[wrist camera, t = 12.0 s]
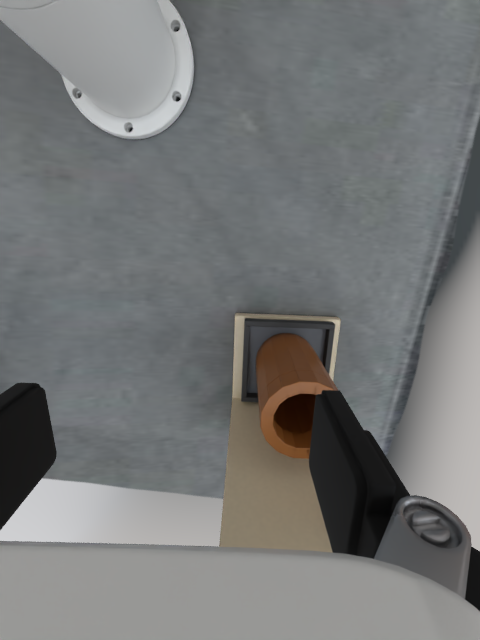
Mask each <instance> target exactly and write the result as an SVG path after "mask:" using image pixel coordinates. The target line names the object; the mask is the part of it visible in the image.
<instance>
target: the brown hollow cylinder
mask: <svg viewBox="0 0 480 640" xmlns="http://www.w3.org/2000/svg"><path fill="white" fill-rule="evenodd" d="M256 376H257V390H258V404H259V417H260V428H261V430H262V433H263V435H264V438H265V440H266V441H267V442H268V443H269V444H270V445H271V446H272V447H273V448H274V449H275V450H276V451H277V452H279V453H281V454H284V455H286V456H289V457H291V458H301V459H309V453H310V444H311V435H312V425H313V416H314V407H315V398H316V395H317V394H321V392H322V391H323V390H338V389H337V387H336V386H335V384H334V382H333V381H332V379H331V377H330V376H329V374H328V372H327V371H326V369H325V367H324V366H323V364H322V362H321V361H320V359H319V357H318V356H317V354H316V352H315V351H314V349H313V348H312V347H311V345H310V344H309V343H308V342H307V341H306V340H305V339H304V338H302V337H300V336H298V335H296V334H292V333H281V334H277V335H274V336H272V337H270V338H268V339H267V340H266V341H265V342H264V343H263V344H262V345H261V346H260V348H259V350H258V352H257V356H256Z"/></svg>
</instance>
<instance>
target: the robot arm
mask: <svg viewBox="0 0 480 640" xmlns="http://www.w3.org/2000/svg"><path fill="white" fill-rule="evenodd" d="M0 20H1V21H2V22H3V23H4V24H5V25H6V26H7V27H9V28H10V29H11V30H12V31H13V32H14V33H15V34H17V35H18V36H19V37H20V38H21V39H22V40H23V41H24V42H26V43H27V44H28V45H29V46H30V47H31V48H32V49H33V50H35V51H36V52H37V53H38V54H39V55H40V56H41V57H43V58H44V59H45V60H46V61H47V62H48V63H49V64H50V65H52V66H53V67H54V68H55V69H56V70H57V71H58V72H60V73H61V76H62V79H63V81H64V84H65V87H66V89H67V91H68V93H69V95H70V97H71V99H72V101H73V102H74V104H75V105H76V106H77V108H78V109H79V110H80V112H81V113H82V114H83V115H84V116H85V117H86V118H87V119H89V120H90V121H91V122H92V123H93V124H94V125H96V126H97V127H99V128H100V129H102V130H103V131H105V132H107V133H109V134H111V135H114V136H117V137H120V138H123V139H135V140H136V139H144V138H148V137H151V136H154V135H157V134H159V133H160V132H162V131H164V130H165V129H167V128H168V127H169V126H170V125H171V124H172V123H173V122H174V121H175V120H176V119H177V118H178V117H179V115H180V114H181V112H182V111H183V109H184V108H185V106H186V103H187V101H188V99H189V96H190V93H191V89H192V85H193V77H194V59H193V51H192V47H191V43H190V39H189V36H188V33H187V30H186V27H185V24H184V22H183V20H182V19H181V17H180V15H179V13H178V11H177V10H176V8H175V7H174V6H173V4H172V3H171V2H170V1H169V0H0ZM176 30H179V31H177V32H175V31H176ZM80 95H81V97H80ZM177 98H180V99H181V100H180V101H178V102H176V99H177ZM131 128H133V130H132V132H130V129H131ZM55 459H56V447H55V442H54V437H53V431H52V426H51V421H50V416H49V410H48V405H47V400H46V394H45V390H44V389H43V388H41V387H40V385H39V384H37V383H17V384H15V385H14V386H12V387H11V388H9V389H8V390H6V391H5V392H4V393H2V394H1V395H0V530H1V529H2V527H3V526H4V525H5V524H6V522H7V521H8V520H9V519H10V517H11V516H12V515H13V514H14V512H15V511H16V510H17V509H18V507H19V506H20V504H21V503H22V502H23V501H24V500H25V498H26V497H27V496H28V495H29V493H30V492H31V491H32V490H33V488H34V487H35V486H36V485H37V484H38V482H39V481H40V480H41V479H42V477H43V476H44V475H45V474H46V472H47V471H48V470H49V469H50V467H51V466H52V465H53V463H54V461H55ZM309 468H310V473H311V476H312V480H313V483H314V487H315V491H316V494H317V498H318V501H319V505H320V509H321V512H322V516H323V519H324V523H325V527H326V530H327V534H328V537H329V541H330V545H331V548H332V552H333V553H331V552H320V551H308V550H288V549H267V548H245V547H211V546H179V545H147V544H146V545H145V544H107V543H105V544H104V543H65V542H19V541H0V640H480V551H478V550H476V549H474V548H473V547H471V536H470V534H469V532H468V530H467V528H466V526H465V525H464V523H463V522H462V521H461V520H460V519H459V517H458V516H457V515H455V514H454V513H453V512H452V511H450V510H449V509H448V508H447V507H445V506H443V505H442V504H440V503H438V502H436V501H434V500H431V499H428V498H426V497H421V496H410V494H409V493H408V491H407V490H406V488H405V486H404V485H403V483H402V482H401V480H400V478H399V477H398V475H397V474H396V472H395V470H394V469H393V467H392V466H391V464H390V463H389V461H388V459H387V458H386V456H385V455H384V453H383V451H382V450H381V448H380V447H379V445H378V443H377V442H376V440H375V439H374V437H373V435H372V434H371V433H370V432H369V431H367V430H363V428H362V427H361V425H360V423H359V422H358V420H357V418H356V417H355V415H354V413H353V412H352V410H351V408H350V407H349V405H348V403H347V402H346V400H345V398H344V397H343V395H342V393H341V392H340V391H338V390H323V391H322V392H321V394H317V395H316V398H315V407H314V416H313V425H312V435H311V444H310V453H309Z"/></svg>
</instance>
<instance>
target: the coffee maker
mask: <svg viewBox="0 0 480 640" xmlns="http://www.w3.org/2000/svg"><path fill="white" fill-rule="evenodd" d="M340 321H341V320H340V319H339V318H338V317H324V316H299V315H275V314H250V313H235V331H234V361H233V391H232V407H231V419H230V430H229V442H228V453H227V465H226V476H225V488H224V499H223V512H222V522H221V534H220V545H219V547H245V548H267V549H288V550H308V551H320V552H331V553H333V552H332V548H331V545H330V541H329V537H328V534H327V530H326V527H325V523H324V519H323V516H322V512H321V509H320V505H319V501H318V498H317V494H316V491H315V487H314V483H313V480H312V476H311V473H310V468H309V459H301V458H291V457H289V456H286V455H284V454H281V453H279V452H277V451H276V450H275V449H274V448H273V447H272V446H271V445H270V444H269V443H268V442H267V441H266V440H265V438H264V435H263V433H262V430H261V428H260V417H259V404H258V390H257V376H256V356H257V352H258V350H259V348H260V346H261V345H262V344H263V343H264V342H265V341H266V340H267V339H268V338H270V337H272V336H274V335H277V334H281V333H292V334H296V335H298V336H300V337H302V338H304V339H305V340H306V341H307V342H308V343H309V344H310V345H311V347H312V348H313V349H314V351H315V352H316V354H317V356H318V357H319V359H320V361H321V362H322V364H323V366H324V367H325V369H326V371H327V372H328V374H329V376H330V377H331V379H332V381H333V376H334V368H335V360H336V352H337V345H338V337H339V329H340Z"/></svg>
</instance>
